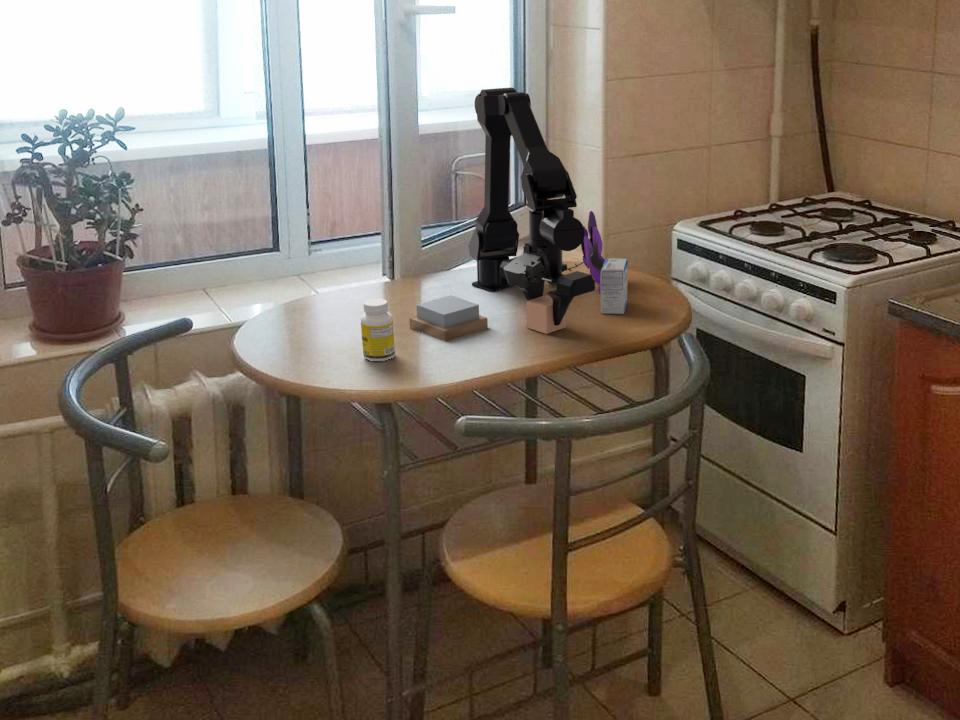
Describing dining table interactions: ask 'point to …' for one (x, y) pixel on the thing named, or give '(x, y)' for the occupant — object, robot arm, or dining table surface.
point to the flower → (592, 250)
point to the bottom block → (448, 328)
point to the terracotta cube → (542, 315)
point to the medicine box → (614, 286)
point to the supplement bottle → (377, 331)
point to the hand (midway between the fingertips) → (546, 321)
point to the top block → (447, 311)
